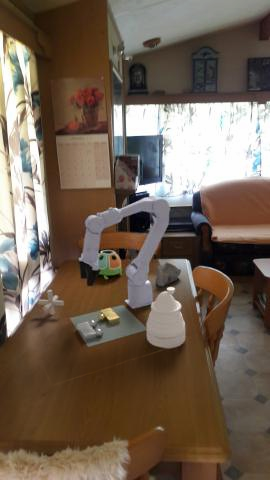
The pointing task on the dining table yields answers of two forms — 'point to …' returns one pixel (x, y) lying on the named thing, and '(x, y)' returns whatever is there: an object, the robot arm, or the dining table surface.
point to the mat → (111, 332)
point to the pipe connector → (50, 302)
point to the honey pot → (166, 321)
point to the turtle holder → (109, 263)
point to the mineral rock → (166, 274)
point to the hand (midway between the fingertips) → (86, 282)
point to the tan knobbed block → (109, 316)
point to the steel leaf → (89, 330)
